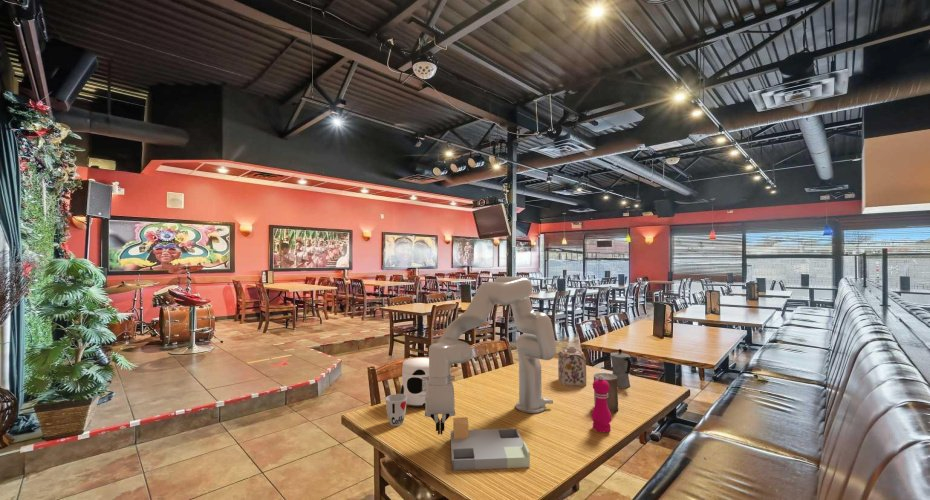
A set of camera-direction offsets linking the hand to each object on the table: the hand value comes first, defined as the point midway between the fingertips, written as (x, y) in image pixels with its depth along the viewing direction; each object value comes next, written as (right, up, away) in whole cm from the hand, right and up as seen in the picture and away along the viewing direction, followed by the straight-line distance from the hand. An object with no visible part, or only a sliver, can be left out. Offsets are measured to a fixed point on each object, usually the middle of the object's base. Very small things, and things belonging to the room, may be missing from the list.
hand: (440, 432), depth 133 cm
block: (+7, -1, 0) cm, 7 cm away
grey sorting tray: (+16, -4, -6) cm, 17 cm away
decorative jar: (+64, -5, +64) cm, 91 cm away
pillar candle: (+69, -4, +31) cm, 76 cm away
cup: (-18, -5, +17) cm, 26 cm away
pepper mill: (+60, -4, +11) cm, 61 cm away
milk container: (-12, -5, +39) cm, 41 cm away
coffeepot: (+87, -5, +59) cm, 105 cm away
